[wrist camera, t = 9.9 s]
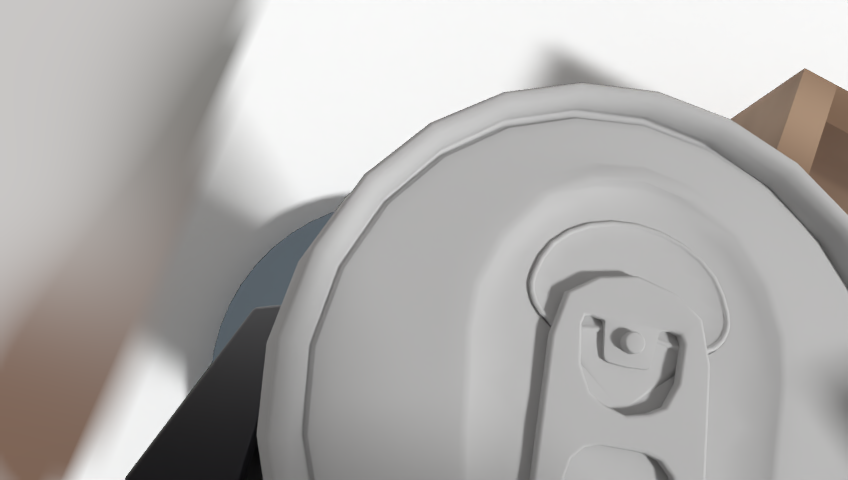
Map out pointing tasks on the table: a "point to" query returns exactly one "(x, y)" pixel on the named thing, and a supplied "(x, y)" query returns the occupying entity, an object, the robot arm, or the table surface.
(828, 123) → the frame
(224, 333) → the pad
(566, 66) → the table surface
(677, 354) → the beverage can
